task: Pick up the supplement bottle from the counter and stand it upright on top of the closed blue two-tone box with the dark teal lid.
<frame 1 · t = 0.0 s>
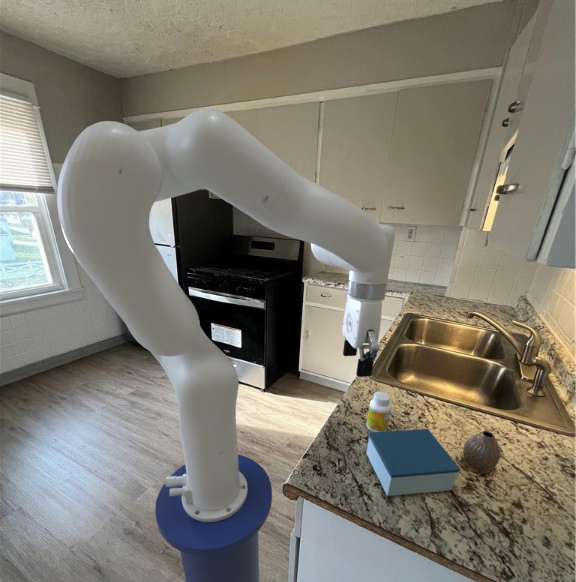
hand: (356, 365, 70), 20 cm above the counter, tool pointing down, fingers open, 9 cm apart
supplement bottle: (376, 427, 82), on the counter
vase: (476, 465, 71), on the counter
blue two-tone box: (406, 470, 69), on the counter
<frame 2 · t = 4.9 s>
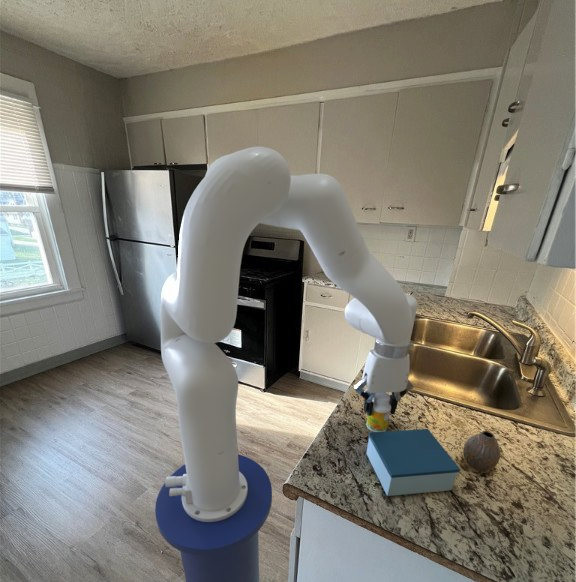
hand: (379, 411, 80), 5 cm above the counter, tool pointing down, fingers closed on supplement bottle, 5 cm apart
supplement bottle: (376, 427, 82), on the counter, touching gripper
everything else where it was.
when the fingers open (11 cm above the counter, at t = 11.5 s): supplement bottle stays where it is, resting on blue two-tone box.
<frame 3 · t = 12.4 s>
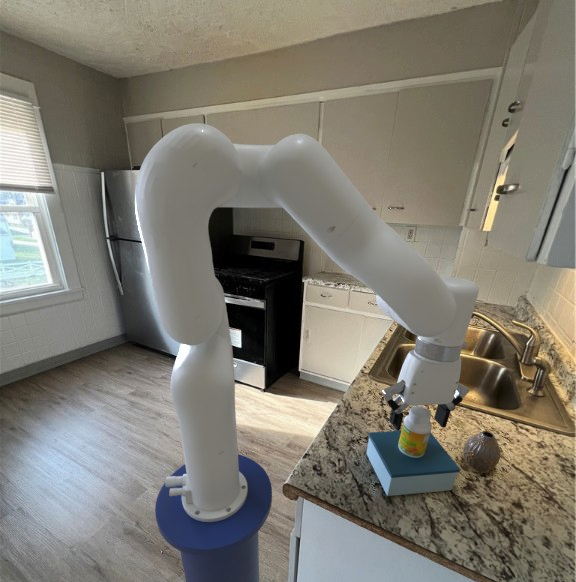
hand: (417, 424, 64), 13 cm above the counter, tool pointing down, fingers open, 9 cm apart
supplement bottle: (410, 450, 67), point 6 cm above the counter, touching blue two-tone box
everything else where it was.
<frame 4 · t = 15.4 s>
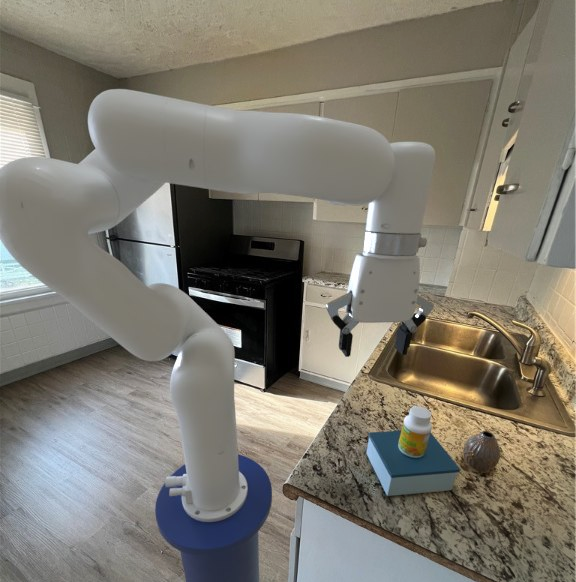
hand: (373, 352, 53), 30 cm above the counter, tool pointing down, fingers open, 9 cm apart
nothing on the counter moved.
at the end: supplement bottle inside the target area on the blue two-tone box (0.1 cm from its centre), point 5.8 cm above the blue two-tone box's base; supplement bottle tilted 0°; the gripper is holding nothing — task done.
